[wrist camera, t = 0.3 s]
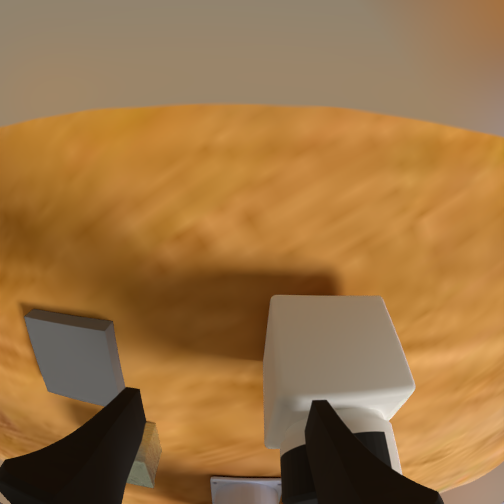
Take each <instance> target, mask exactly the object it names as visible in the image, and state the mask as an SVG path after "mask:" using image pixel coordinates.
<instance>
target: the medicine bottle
mask: <svg viewBox="0 0 504 504" xmlns="http://www.w3.org/2000/svg"><path fill="white" fill-rule="evenodd" d="M414 390H415V383H414V380H413V377H412V374H411V371H410V368H409V365H408V362H407V360H406V357H405V354H404V351H403V349H402V346H401V343H400V341H399V338H398V336H397V333H396V330H395V328H394V325H393V323H392V320H391V318H390V315H389V313H388V310H387V308H386V306H385V303H384V301H383V299H382V298H381V296H316V295H274V296H272V297H271V300H270V307H269V316H268V324H267V333H266V342H265V350H264V358H263V392H264V443H265V446H266V447H267V448H269V449H280V462H281V489H282V503H283V504H318V501H317V495H316V490H315V486H314V481H313V477H312V473H311V469H310V465H309V461H308V456H307V452H306V443H305V432H304V431H305V427H306V423H307V419H308V415H309V411H310V407H311V403H312V400H327V401H328V402H329V403H330V405H331V406H332V407H333V409H334V410H335V412H336V413H337V414H338V416H339V417H340V418H341V419H342V421H343V422H344V423H345V425H346V426H347V427H348V428H349V429H350V430H351V432H352V433H353V434H354V435H355V436H356V437H357V438H358V439H359V441H360V442H361V443H362V444H363V445H364V446H365V447H366V448H367V449H368V450H369V451H371V452H372V453H373V454H374V455H375V456H376V457H377V458H379V459H380V460H381V461H382V462H384V463H385V464H386V465H388V466H389V467H390V468H392V469H394V470H395V471H397V472H398V473H400V474H401V475H402V471H401V466H400V461H399V456H398V451H397V447H396V442H395V438H394V434H393V429H392V425H391V423H390V422H389V420H390V419H391V418H392V417H393V415H394V414H395V413H396V412H397V411H398V410H399V409H400V407H401V406H402V405H403V404H404V403H405V402H406V400H407V399H408V398H409V397H410V396H411V394H412V393H413V392H414Z"/></svg>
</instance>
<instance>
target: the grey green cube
mask: <svg viewBox="0 0 504 504" xmlns="http://www.w3.org/2000/svg"><path fill="white" fill-rule="evenodd" d="M161 452H162V448H161V444H160V440H159V436H158V431H157V427H156V423H151V422H146V424H145V429H144V433H143V438H142V441H141V444H140V447H139V449H138V452H137V455H136V458H135V460H134V463H133V465H132V468H131V471H130V474H129V476H128V479H127V482H126V483H130V484H135V485H140V486H144V487H150V488H154V485H155V482H154V480H155V476H156V472H157V468H158V464H159V460H160V456H161Z"/></svg>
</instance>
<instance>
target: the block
mask: <svg viewBox="0 0 504 504" xmlns="http://www.w3.org/2000/svg"><path fill="white" fill-rule="evenodd" d="M24 318H25V322H26V326H27V330H28V333H29V337H30V340H31V343H32V347H33V350H34V353H35V356H36V359H37V362H38V365H39V368H40V371H41V374H42V376H43V379H44V382H45V385H46V387H47V390H48V392H52V393H55V394H58V395H62V396H65V397H69V398H73V399H77V400H80V401H84V402H88V403H93V404H97V405H101V406H106V405H107V404H109V403H110V402H111V401H112V400H113V399H114V398H115V397H116V396H117V395H118V394H119V393H120V392H121V391H122V390H123V389H124V388H125V384H124V379H123V375H122V370H121V365H120V360H119V355H118V349H117V344H116V338H115V332H114V326H113V321H107V320H100V319H93V318H86V317H79V316H73V315H67V314H60V313H55V312H49V311H43V310H38V309H33V310H31V311H30V312H29V313H28V314H27V315H25V316H24Z"/></svg>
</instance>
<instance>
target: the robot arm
mask: <svg viewBox="0 0 504 504" xmlns="http://www.w3.org/2000/svg"><path fill="white" fill-rule="evenodd" d="M145 424H146V418H145V413H144V409H143V404H142V399H141V394H140V389H135V388H130V387H126V388H124V389H123V390H122V391H121V392H120V393H119V394H118V395H117V396H116V397H115V398H114V399H113V400H112V401H111V402H110V403H109V404H107V405H106V406H105V407H104V408H103V409H102V410H101V411H100V412H99V413H97V414H96V415H95V416H94V417H93V418H91V419H90V420H89V421H88V422H86V423H85V424H84V425H83V426H81V427H80V428H78V429H77V430H76V431H74V432H73V433H71V434H70V435H68V436H66V437H65V438H63V439H61V440H59V441H57V442H55V443H53V444H51V445H49V446H47V447H45V448H43V449H40V450H38V451H35V452H32V453H29V454H26V455H23V456H19V457H15V458H11V459H6V460H5V461H4V462H3V464H2V465H1V467H0V492H1V493H2V494H3V495H4V497H6V499H7V500H8V501H9V502H10V503H11V504H122V499H123V494H124V490H125V486H126V482H127V479H128V476H129V474H130V471H131V468H132V465H133V463H134V460H135V458H136V455H137V452H138V449H139V447H140V444H141V441H142V438H143V433H144V429H145ZM304 432H305V443H306V452H307V456H308V461H309V465H310V469H311V473H312V477H313V481H314V486H315V490H316V495H317V501H318V504H444V502H443V500H442V498H441V496H440V495H439V493H438V492H437V491H435V490H432V489H430V488H427V487H425V486H422V485H420V484H418V483H416V482H414V481H412V480H410V479H408V478H406V477H405V476H403V475H401V474H400V473H398V472H397V471H395V470H394V469H392V468H390V467H389V466H388V465H386V464H385V463H384V462H382V461H381V460H380V459H379V458H377V457H376V456H375V455H374V454H373V453H372V452H371V451H369V450H368V449H367V448H366V447H365V446H364V445H363V444H362V443H361V442H360V441H359V439H358V438H357V437H356V436H355V435H354V434H353V433H352V432H351V430H350V429H349V428H348V427H347V426H346V425H345V423H344V422H343V421H342V419H341V418H340V417H339V416H338V414H337V413H336V412H335V410H334V409H333V407H332V406H331V405H330V403H329V402H328V401H327V400H312V403H311V407H310V411H309V415H308V419H307V423H306V427H305V431H304ZM210 482H211V493H212V503H213V504H279V501H280V498H281V494H282V489H281V478H231V477H211V479H210ZM0 504H2V503H1V502H0Z"/></svg>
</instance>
